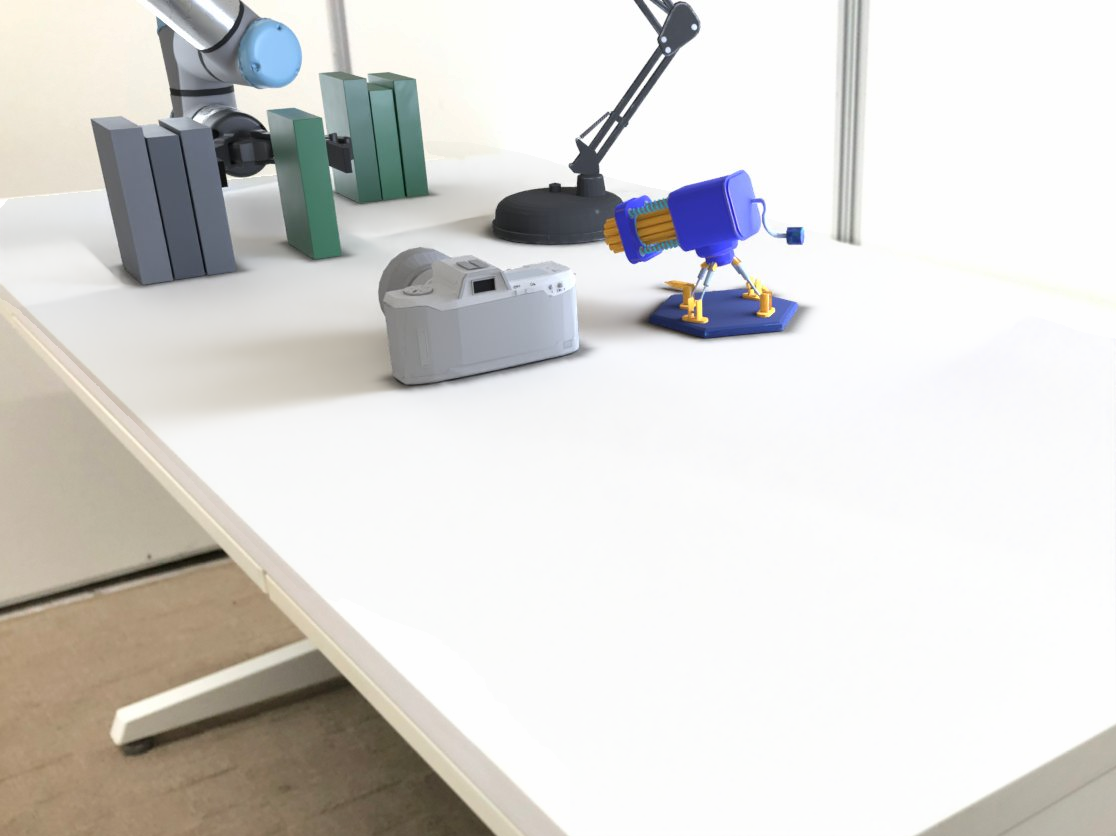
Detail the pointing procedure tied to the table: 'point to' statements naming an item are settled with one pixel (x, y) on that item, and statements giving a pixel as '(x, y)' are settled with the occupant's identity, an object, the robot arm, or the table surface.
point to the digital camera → (473, 315)
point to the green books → (376, 134)
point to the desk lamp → (592, 156)
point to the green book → (304, 182)
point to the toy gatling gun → (704, 254)
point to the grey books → (165, 198)
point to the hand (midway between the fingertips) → (286, 167)
